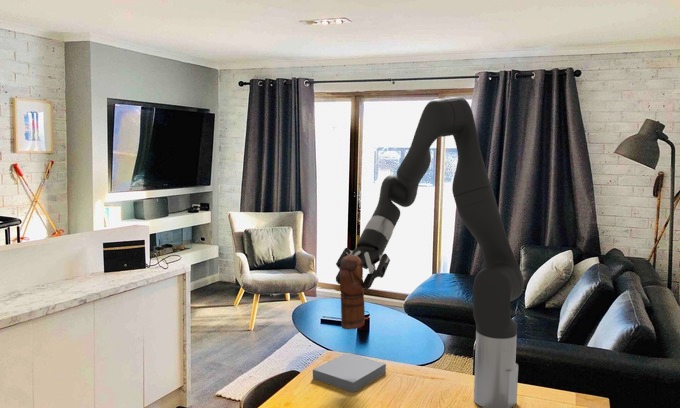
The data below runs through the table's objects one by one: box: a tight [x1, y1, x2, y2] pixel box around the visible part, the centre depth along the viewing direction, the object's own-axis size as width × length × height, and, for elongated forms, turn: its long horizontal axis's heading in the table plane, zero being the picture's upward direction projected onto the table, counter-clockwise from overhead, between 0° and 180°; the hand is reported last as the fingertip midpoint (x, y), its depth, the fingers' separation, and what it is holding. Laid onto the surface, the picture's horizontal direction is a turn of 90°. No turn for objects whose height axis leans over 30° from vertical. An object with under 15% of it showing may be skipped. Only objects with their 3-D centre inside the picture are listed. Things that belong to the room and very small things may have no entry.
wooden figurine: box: [339, 255, 366, 330], centre depth 144 cm, size 12×6×18 cm, turn 177°
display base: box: [312, 352, 387, 393], centre depth 147 cm, size 13×15×2 cm
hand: (351, 285), depth 144 cm, fingers closed on wooden figurine, 8 cm apart
